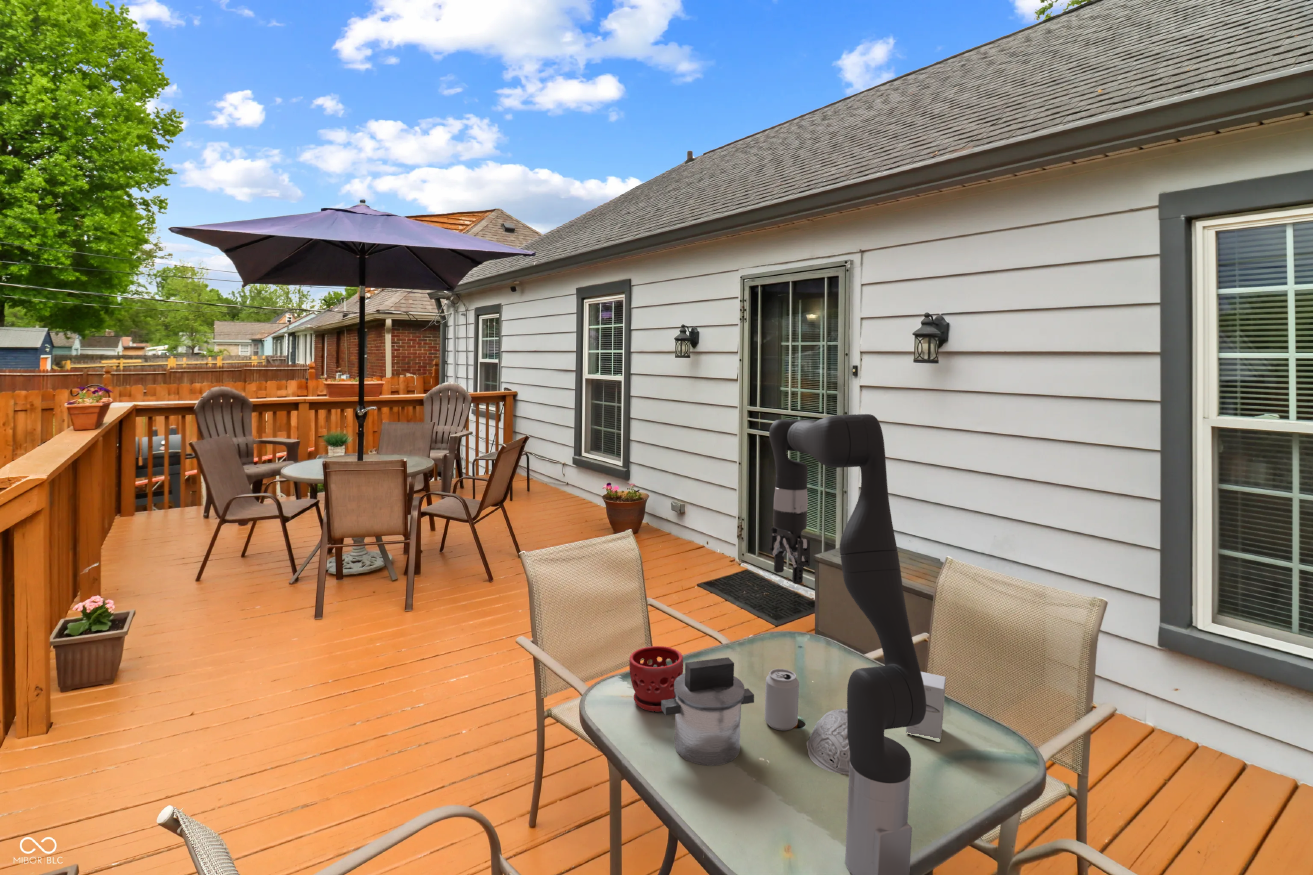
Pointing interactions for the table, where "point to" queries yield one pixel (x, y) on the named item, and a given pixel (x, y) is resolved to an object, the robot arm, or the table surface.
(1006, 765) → the table surface
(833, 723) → the grey oval domed piece
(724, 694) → the lid
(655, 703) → the plant pot
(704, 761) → the cooker
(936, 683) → the supplement box
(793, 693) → the can
